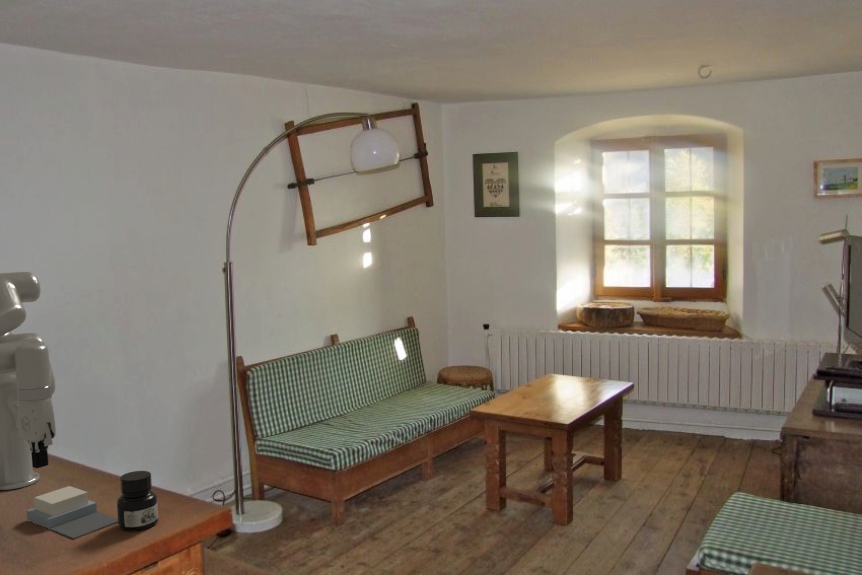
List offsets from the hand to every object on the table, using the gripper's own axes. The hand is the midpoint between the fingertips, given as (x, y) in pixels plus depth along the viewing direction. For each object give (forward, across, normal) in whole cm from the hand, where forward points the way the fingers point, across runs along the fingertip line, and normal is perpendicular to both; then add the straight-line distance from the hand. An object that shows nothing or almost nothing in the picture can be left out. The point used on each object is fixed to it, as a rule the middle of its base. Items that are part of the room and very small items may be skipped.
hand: (40, 466), depth 192 cm
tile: (+7, +8, 0) cm, 11 cm away
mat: (+12, +18, 0) cm, 22 cm away
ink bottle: (+12, +28, +7) cm, 32 cm away
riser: (+11, +8, 0) cm, 14 cm away
